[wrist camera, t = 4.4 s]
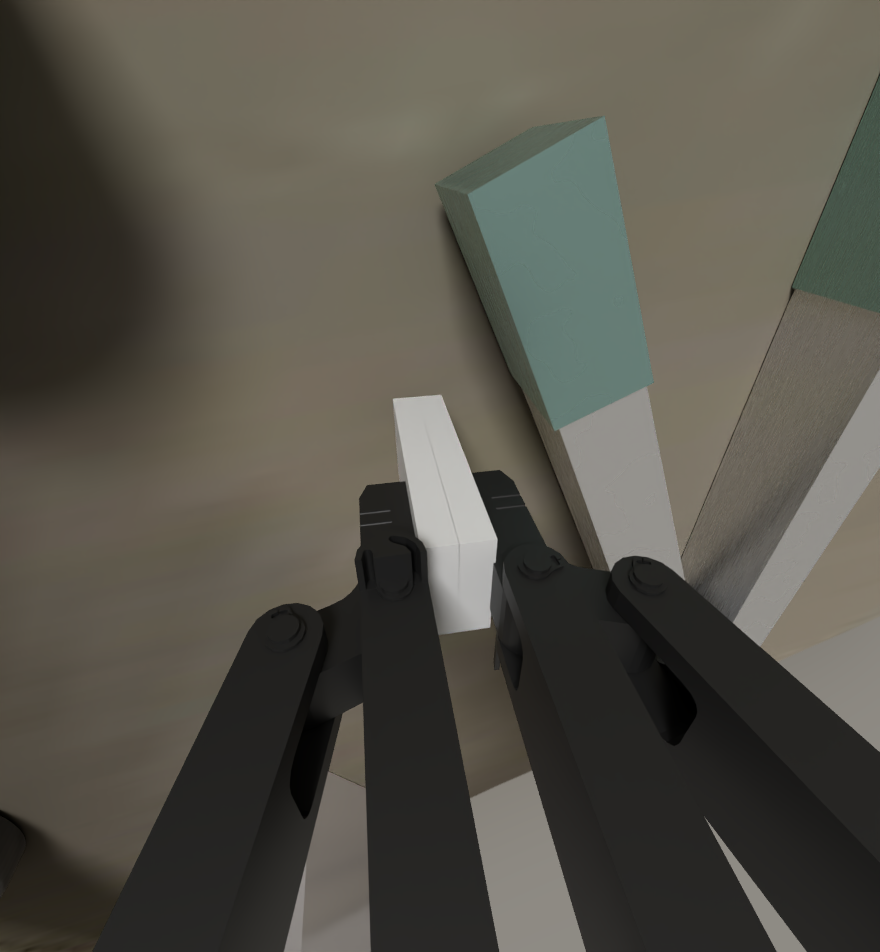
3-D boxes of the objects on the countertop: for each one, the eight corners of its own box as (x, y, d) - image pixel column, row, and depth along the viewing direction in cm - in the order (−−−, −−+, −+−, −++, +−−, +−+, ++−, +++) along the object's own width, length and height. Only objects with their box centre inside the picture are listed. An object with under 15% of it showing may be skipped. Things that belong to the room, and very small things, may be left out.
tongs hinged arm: (613, 637, 26) (652, 708, 23) (427, 187, 12) (459, 200, 9) (666, 615, 25) (714, 683, 22) (539, 122, 12) (617, 109, 8)
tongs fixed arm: (576, 655, 28) (609, 724, 24) (746, 56, 12) (903, 17, 9) (689, 636, 29) (735, 701, 25) (980, 61, 13) (1204, 27, 10)
